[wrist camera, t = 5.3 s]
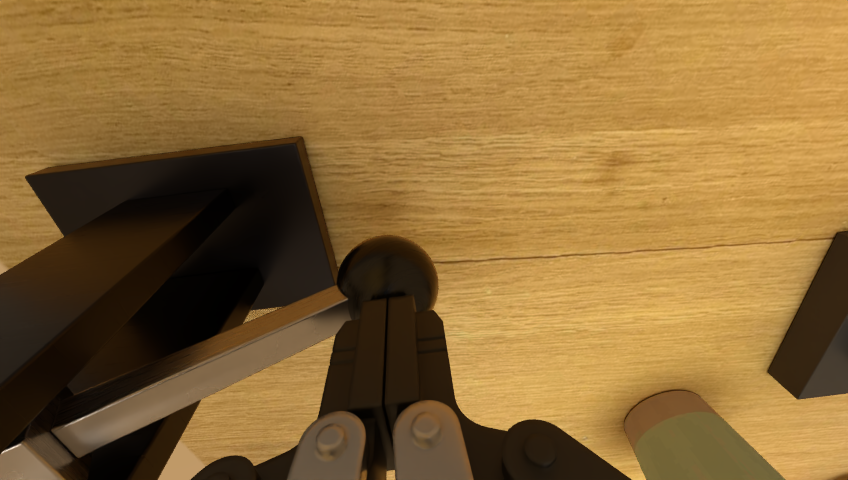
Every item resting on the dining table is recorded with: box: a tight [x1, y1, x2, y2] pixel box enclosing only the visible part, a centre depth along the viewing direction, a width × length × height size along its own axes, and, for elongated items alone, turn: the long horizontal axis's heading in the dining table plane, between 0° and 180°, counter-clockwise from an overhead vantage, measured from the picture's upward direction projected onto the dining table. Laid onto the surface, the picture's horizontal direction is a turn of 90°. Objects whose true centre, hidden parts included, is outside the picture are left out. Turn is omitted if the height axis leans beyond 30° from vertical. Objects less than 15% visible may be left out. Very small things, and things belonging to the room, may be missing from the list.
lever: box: [0, 235, 438, 480], centre depth 10 cm, size 13×3×3 cm, turn 96°
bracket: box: [0, 137, 338, 480], centre depth 12 cm, size 11×8×13 cm
